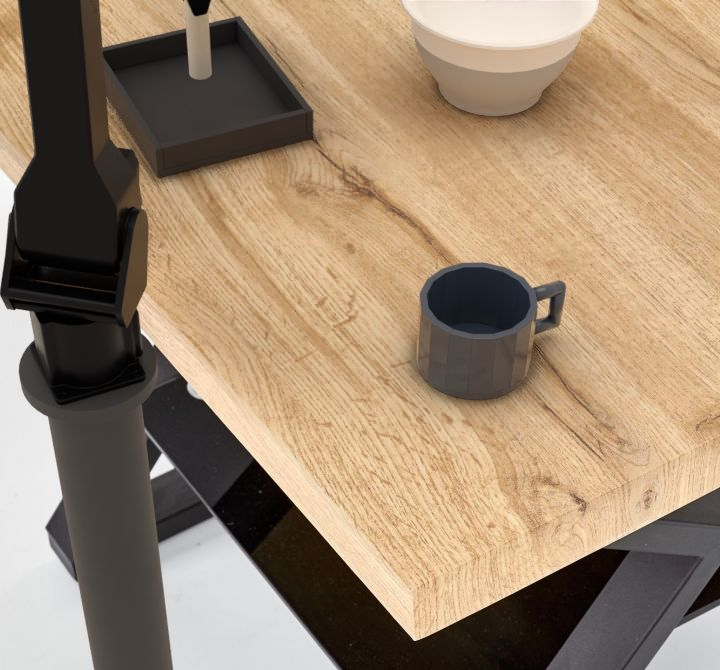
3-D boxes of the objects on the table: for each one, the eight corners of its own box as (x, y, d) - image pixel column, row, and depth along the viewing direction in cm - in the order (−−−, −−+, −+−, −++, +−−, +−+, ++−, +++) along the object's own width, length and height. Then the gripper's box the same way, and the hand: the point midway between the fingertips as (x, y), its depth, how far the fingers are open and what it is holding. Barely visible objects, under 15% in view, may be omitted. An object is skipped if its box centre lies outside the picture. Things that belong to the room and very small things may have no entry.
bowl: (406, 146, 126) (410, 50, 119) (385, 37, 136) (388, -56, 130) (603, 138, 127) (618, 42, 120) (567, 31, 137) (579, -62, 131)
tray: (158, 178, 122) (155, 150, 120) (94, 77, 131) (90, 49, 129) (313, 138, 126) (313, 110, 124) (241, 43, 135) (240, 15, 133)
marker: (193, 82, 125) (184, -47, 117) (184, 70, 126) (174, -60, 118) (216, 77, 126) (209, -53, 118) (207, 64, 127) (199, -65, 119)
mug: (448, 413, 106) (453, 351, 102) (397, 341, 110) (400, 280, 106) (586, 368, 109) (596, 307, 105) (530, 301, 113) (538, 239, 109)
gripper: (342, -161, 107) (340, 45, 119) (238, -266, 118) (245, -68, 130) (188, -130, 104) (202, 78, 115) (96, -242, 115) (117, -41, 126)
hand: (195, 7), depth 122 cm, fingers closed on marker, 2 cm apart
